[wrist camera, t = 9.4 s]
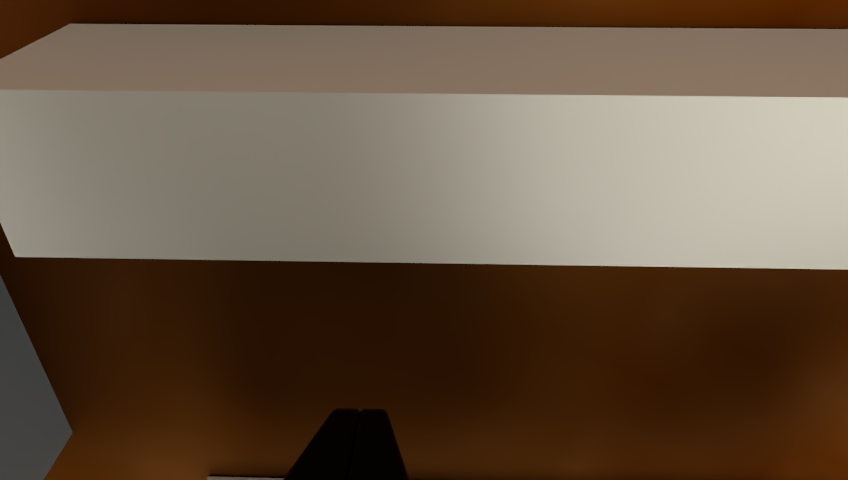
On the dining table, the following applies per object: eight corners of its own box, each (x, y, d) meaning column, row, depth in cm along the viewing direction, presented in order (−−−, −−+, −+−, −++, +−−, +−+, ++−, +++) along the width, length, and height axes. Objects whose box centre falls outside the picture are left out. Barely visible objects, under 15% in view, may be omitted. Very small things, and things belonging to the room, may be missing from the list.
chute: (1101, 551, 14) (1216, 677, 12) (224, 530, 14) (186, 647, 12) (1651, 34, 8) (2102, 109, 6) (70, 23, 8) (-59, 88, 6)
